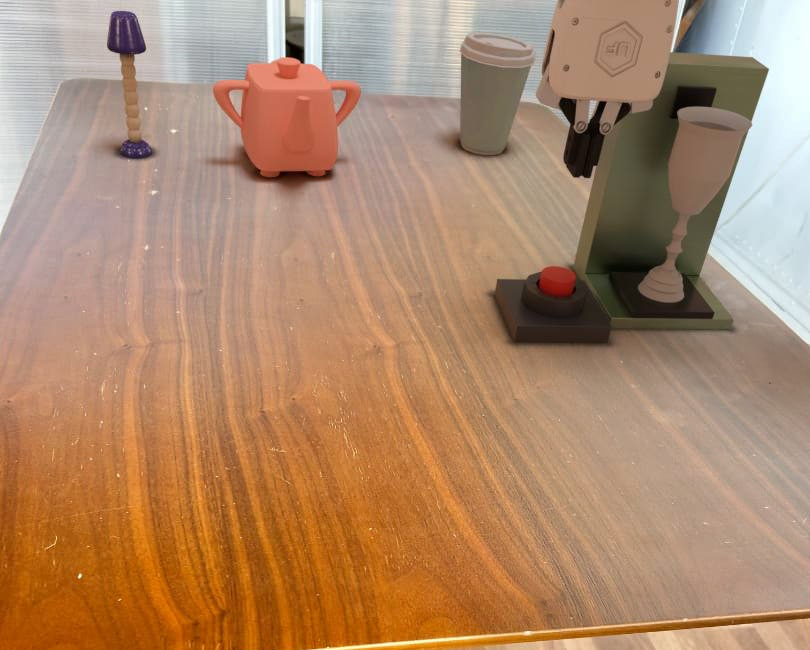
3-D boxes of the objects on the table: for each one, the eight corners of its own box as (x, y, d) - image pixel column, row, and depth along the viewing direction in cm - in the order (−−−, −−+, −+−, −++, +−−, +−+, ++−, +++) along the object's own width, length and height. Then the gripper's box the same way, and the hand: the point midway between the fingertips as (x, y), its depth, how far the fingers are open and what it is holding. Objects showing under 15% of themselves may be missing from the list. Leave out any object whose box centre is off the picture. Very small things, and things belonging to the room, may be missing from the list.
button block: (580, 298, 99) (588, 264, 96) (606, 345, 91) (616, 310, 89) (493, 297, 97) (499, 263, 94) (513, 344, 90) (520, 309, 87)
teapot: (272, 137, 127) (270, 35, 118) (368, 163, 123) (374, 59, 114) (202, 172, 116) (194, 62, 107) (306, 202, 111) (306, 90, 102)
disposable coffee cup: (465, 131, 136) (479, 21, 125) (530, 148, 133) (550, 37, 122) (436, 151, 128) (448, 36, 118) (504, 169, 125) (522, 53, 115)
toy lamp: (127, 146, 120) (109, 6, 108) (161, 150, 120) (147, 10, 108) (115, 158, 116) (96, 15, 105) (150, 162, 116) (135, 20, 105)
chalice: (674, 274, 100) (727, 106, 88) (706, 304, 95) (767, 130, 83) (617, 278, 98) (663, 107, 86) (647, 308, 93) (700, 131, 81)
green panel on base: (683, 271, 106) (752, 56, 90) (729, 331, 96) (816, 102, 80) (572, 269, 104) (623, 48, 88) (607, 330, 94) (672, 94, 78)
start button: (567, 281, 93) (571, 266, 92) (576, 298, 91) (580, 282, 90) (534, 281, 93) (537, 265, 92) (543, 297, 90) (546, 281, 89)
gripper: (553, -56, 67) (510, 184, 80) (734, -39, 70) (664, 192, 82) (530, -75, 73) (493, 153, 85) (699, -58, 75) (639, 161, 88)
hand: (577, 172), depth 84 cm, fingers closed
